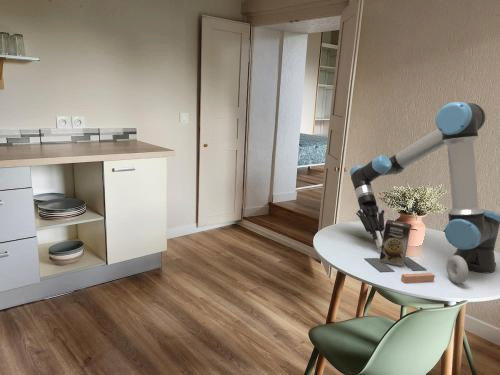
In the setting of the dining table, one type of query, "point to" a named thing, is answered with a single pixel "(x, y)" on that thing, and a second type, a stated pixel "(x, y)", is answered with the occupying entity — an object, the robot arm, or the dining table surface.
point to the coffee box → (395, 242)
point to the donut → (457, 269)
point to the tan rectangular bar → (417, 277)
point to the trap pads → (385, 268)
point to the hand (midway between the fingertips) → (380, 246)
